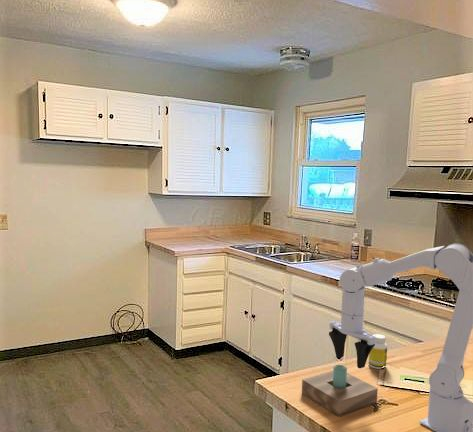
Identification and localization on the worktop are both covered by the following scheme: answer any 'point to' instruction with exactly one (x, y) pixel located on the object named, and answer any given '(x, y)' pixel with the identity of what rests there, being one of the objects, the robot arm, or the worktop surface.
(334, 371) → the teal pin
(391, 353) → the worktop surface
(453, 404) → the robot arm
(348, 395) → the socket block
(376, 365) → the supplement bottle
